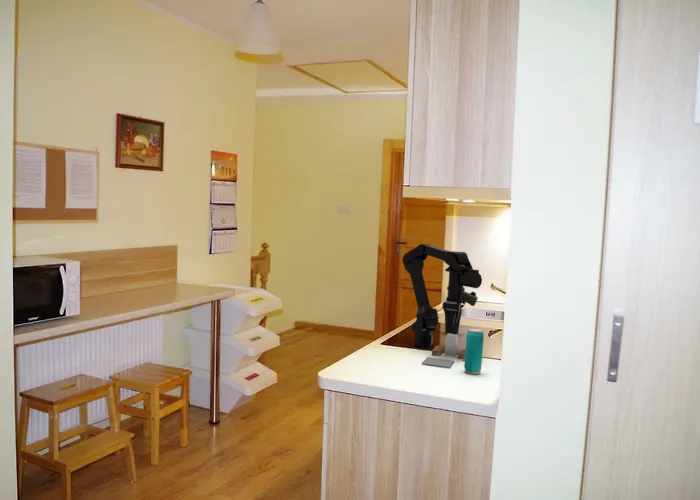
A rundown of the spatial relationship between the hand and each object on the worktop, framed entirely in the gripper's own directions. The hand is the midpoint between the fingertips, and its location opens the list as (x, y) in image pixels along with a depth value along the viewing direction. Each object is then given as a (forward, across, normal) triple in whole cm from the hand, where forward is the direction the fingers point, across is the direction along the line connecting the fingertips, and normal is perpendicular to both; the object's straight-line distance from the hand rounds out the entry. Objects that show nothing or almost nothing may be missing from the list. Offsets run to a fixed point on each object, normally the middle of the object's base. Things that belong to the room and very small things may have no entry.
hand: (452, 324), depth 222 cm
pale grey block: (+12, 0, 0) cm, 12 cm away
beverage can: (+12, -21, -11) cm, 27 cm away
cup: (+12, +38, +6) cm, 40 cm away
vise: (+12, 0, -2) cm, 12 cm away
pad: (+12, -15, +2) cm, 19 cm away
